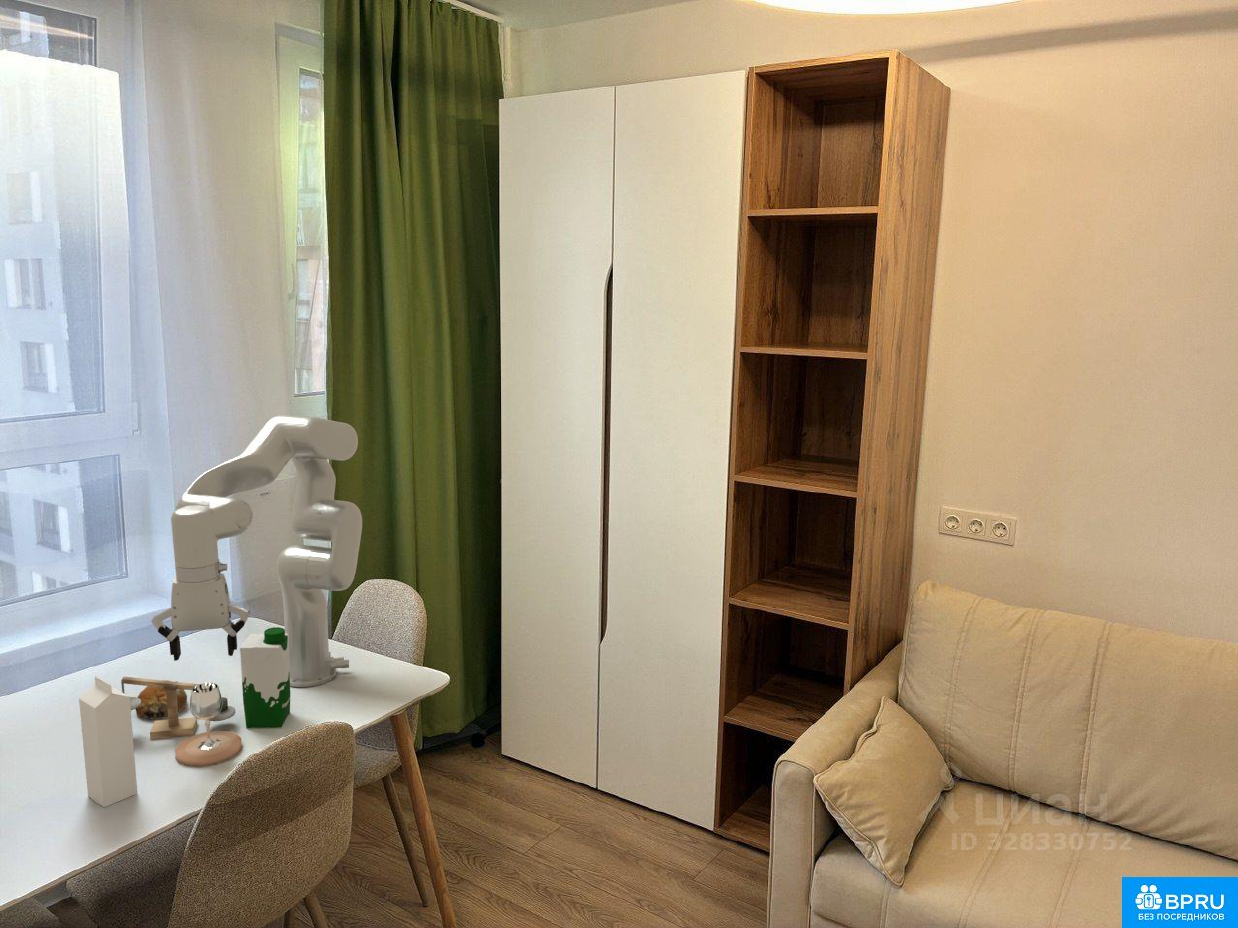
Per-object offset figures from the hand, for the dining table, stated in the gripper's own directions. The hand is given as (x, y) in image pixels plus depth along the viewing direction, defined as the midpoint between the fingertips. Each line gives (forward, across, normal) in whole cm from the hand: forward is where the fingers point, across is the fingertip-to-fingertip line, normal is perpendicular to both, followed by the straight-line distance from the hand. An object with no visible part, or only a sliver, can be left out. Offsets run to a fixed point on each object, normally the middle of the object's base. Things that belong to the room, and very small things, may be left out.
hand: (204, 655), depth 181 cm
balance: (+20, +8, -9) cm, 23 cm away
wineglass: (+19, 0, +1) cm, 19 cm away
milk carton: (+20, -10, -10) cm, 25 cm away
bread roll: (+20, +13, -20) cm, 31 cm away
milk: (+20, +15, +14) cm, 28 cm away
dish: (+20, 0, +1) cm, 20 cm away
